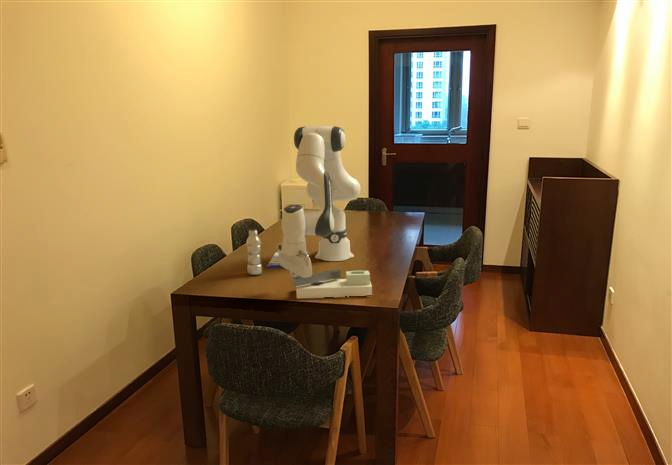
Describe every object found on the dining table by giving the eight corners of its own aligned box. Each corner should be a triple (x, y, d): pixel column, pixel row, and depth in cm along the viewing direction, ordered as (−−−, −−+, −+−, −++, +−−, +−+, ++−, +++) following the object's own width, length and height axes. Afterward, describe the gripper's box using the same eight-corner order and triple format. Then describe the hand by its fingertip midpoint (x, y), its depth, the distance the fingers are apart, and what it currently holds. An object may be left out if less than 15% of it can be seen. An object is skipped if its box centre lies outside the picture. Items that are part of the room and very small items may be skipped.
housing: (297, 289, 216) (296, 280, 215) (369, 287, 217) (369, 278, 216) (296, 298, 206) (296, 288, 205) (371, 296, 207) (371, 286, 206)
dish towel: (309, 255, 266) (309, 250, 266) (303, 269, 244) (303, 264, 243) (275, 255, 268) (274, 249, 267) (265, 269, 245) (265, 263, 244)
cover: (346, 280, 213) (345, 269, 212) (368, 280, 214) (368, 268, 213) (346, 285, 208) (346, 273, 207) (369, 284, 209) (369, 272, 208)
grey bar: (292, 286, 207) (292, 277, 206) (337, 277, 216) (337, 268, 216) (295, 288, 204) (295, 279, 203) (340, 279, 214) (340, 270, 213)
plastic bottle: (255, 271, 241) (253, 227, 236) (265, 273, 237) (263, 229, 232) (244, 274, 236) (241, 230, 231) (254, 277, 232) (252, 232, 227)
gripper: (315, 252, 197) (316, 288, 201) (289, 241, 214) (290, 274, 217) (300, 255, 194) (302, 291, 197) (275, 243, 211) (276, 277, 214)
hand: (295, 282), depth 207 cm, fingers closed
